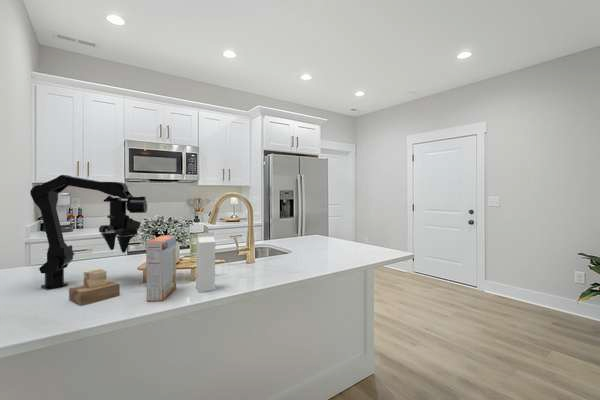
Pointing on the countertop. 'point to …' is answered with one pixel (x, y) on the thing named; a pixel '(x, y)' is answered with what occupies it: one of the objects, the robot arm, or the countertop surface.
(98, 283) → the oak cube
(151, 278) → the cracker box
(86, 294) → the walnut box
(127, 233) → the robot arm
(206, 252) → the milk
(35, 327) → the countertop surface
